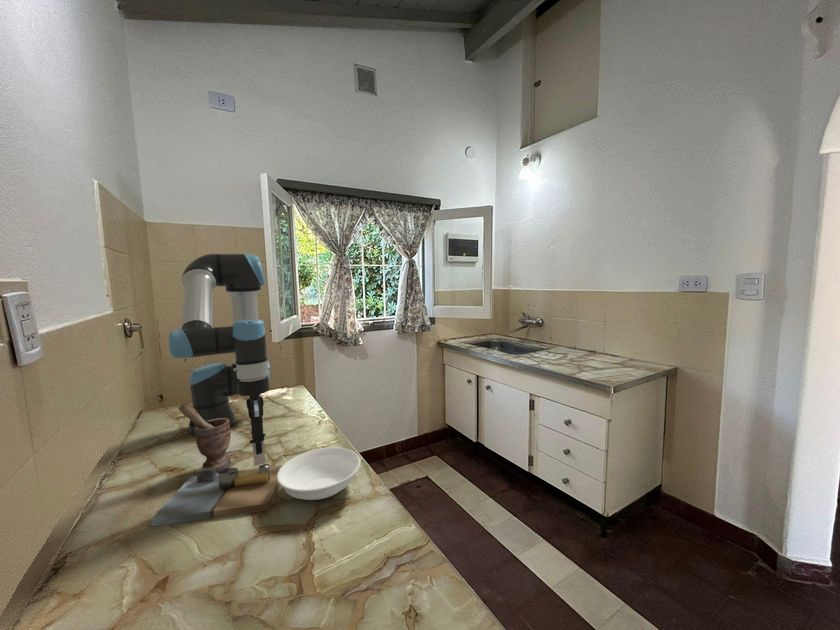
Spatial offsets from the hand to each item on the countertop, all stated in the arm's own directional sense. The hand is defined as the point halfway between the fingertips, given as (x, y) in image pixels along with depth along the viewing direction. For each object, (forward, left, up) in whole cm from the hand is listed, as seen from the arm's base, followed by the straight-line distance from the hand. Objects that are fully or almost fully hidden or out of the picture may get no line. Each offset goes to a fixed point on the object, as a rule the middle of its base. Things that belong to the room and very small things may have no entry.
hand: (259, 463), depth 90 cm
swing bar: (+6, -2, -2) cm, 6 cm away
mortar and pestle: (-7, -16, -4) cm, 18 cm away
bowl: (+11, +17, -4) cm, 21 cm away
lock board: (+7, -6, -4) cm, 10 cm away
